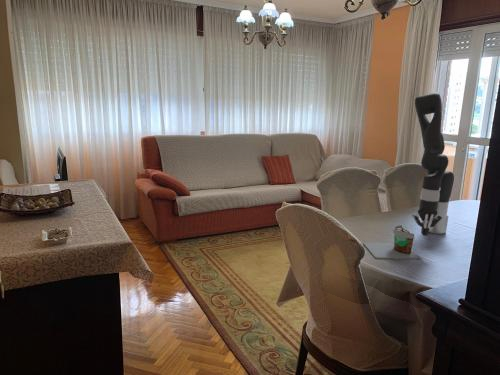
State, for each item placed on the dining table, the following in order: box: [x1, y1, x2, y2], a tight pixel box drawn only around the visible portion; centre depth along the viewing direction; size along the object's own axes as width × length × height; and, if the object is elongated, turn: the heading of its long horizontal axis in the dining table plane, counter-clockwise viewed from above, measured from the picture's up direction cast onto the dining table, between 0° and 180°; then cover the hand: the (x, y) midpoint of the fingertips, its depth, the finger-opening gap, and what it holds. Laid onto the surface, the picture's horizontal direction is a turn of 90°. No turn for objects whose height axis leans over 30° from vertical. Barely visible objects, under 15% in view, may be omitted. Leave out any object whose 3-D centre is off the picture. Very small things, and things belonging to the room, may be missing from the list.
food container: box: [392, 224, 415, 254], centre depth 169 cm, size 12×6×10 cm, turn 5°
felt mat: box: [362, 242, 422, 260], centre depth 170 cm, size 20×17×1 cm
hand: (424, 235), depth 168 cm, fingers closed
